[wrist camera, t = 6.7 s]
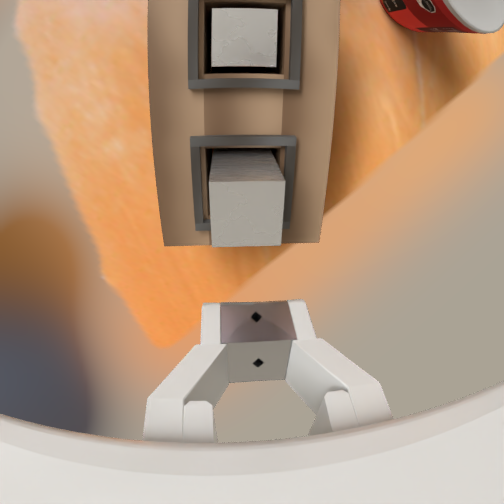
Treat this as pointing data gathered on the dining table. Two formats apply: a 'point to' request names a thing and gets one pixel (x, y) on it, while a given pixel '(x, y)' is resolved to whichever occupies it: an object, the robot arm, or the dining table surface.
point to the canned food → (447, 15)
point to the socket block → (241, 111)
